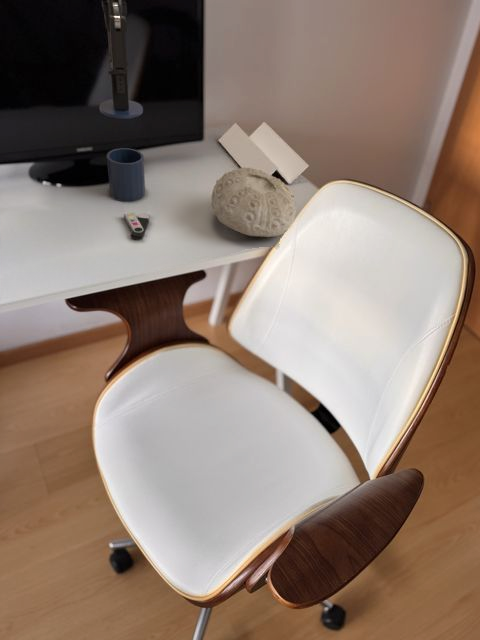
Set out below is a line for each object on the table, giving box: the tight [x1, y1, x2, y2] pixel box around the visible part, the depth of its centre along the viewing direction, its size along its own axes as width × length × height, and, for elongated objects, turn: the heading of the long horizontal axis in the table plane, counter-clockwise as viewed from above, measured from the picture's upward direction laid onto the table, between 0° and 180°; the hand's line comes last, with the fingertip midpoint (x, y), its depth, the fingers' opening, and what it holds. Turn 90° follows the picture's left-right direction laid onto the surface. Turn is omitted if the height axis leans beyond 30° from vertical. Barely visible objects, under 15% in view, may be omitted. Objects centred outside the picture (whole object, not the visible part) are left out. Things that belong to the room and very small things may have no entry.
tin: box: [106, 147, 146, 203], centre depth 116 cm, size 7×7×8 cm
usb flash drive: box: [123, 212, 151, 240], centre depth 109 cm, size 9×5×1 cm, turn 177°
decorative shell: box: [210, 167, 297, 238], centre depth 112 cm, size 18×18×10 cm
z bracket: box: [218, 121, 309, 185], centre depth 136 cm, size 12×25×6 cm
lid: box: [99, 62, 144, 120], centre depth 104 cm, size 8×8×9 cm
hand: (120, 105), depth 106 cm, fingers closed on lid, 3 cm apart
